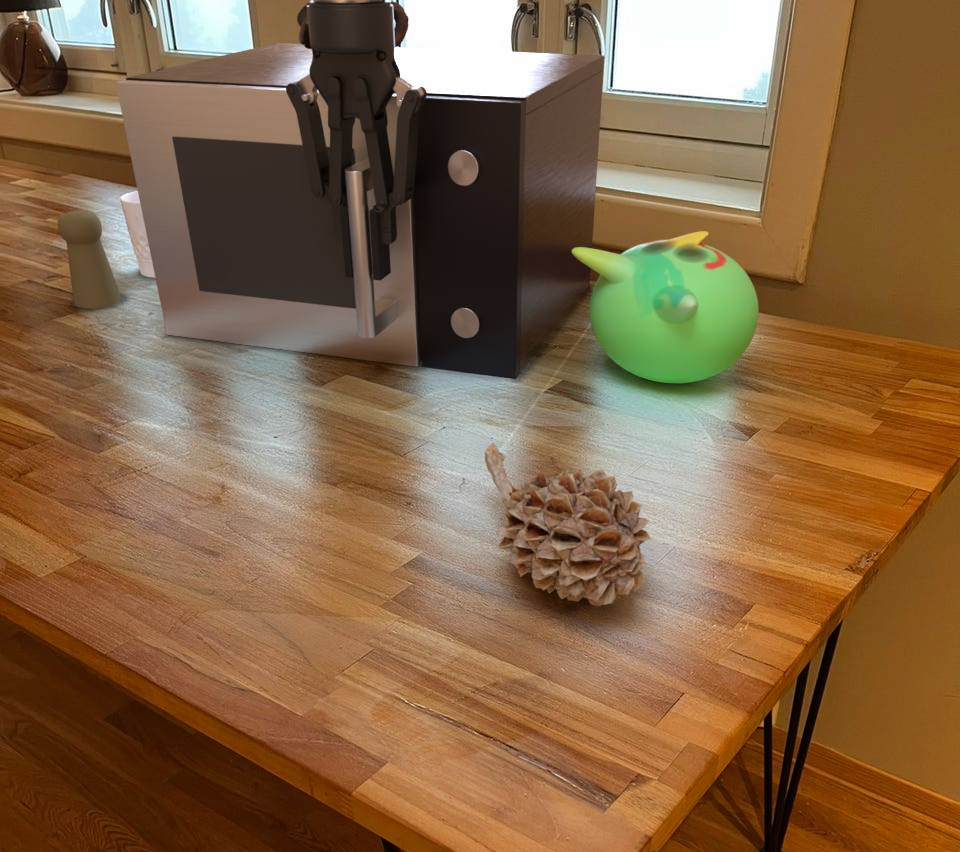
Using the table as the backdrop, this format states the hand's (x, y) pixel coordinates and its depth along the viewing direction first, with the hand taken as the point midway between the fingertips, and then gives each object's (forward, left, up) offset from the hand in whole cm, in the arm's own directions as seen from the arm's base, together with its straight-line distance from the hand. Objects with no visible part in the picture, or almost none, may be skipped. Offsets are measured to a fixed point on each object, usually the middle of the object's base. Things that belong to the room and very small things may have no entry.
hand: (368, 274), depth 98 cm
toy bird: (+29, +12, -12) cm, 34 cm away
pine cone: (+27, -29, -12) cm, 42 cm away
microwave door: (-13, +2, -11) cm, 18 cm away
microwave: (-8, +22, -11) cm, 26 cm away
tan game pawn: (-46, +14, -12) cm, 49 cm away
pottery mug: (-9, +21, +15) cm, 27 cm away
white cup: (-45, +28, -12) cm, 54 cm away
